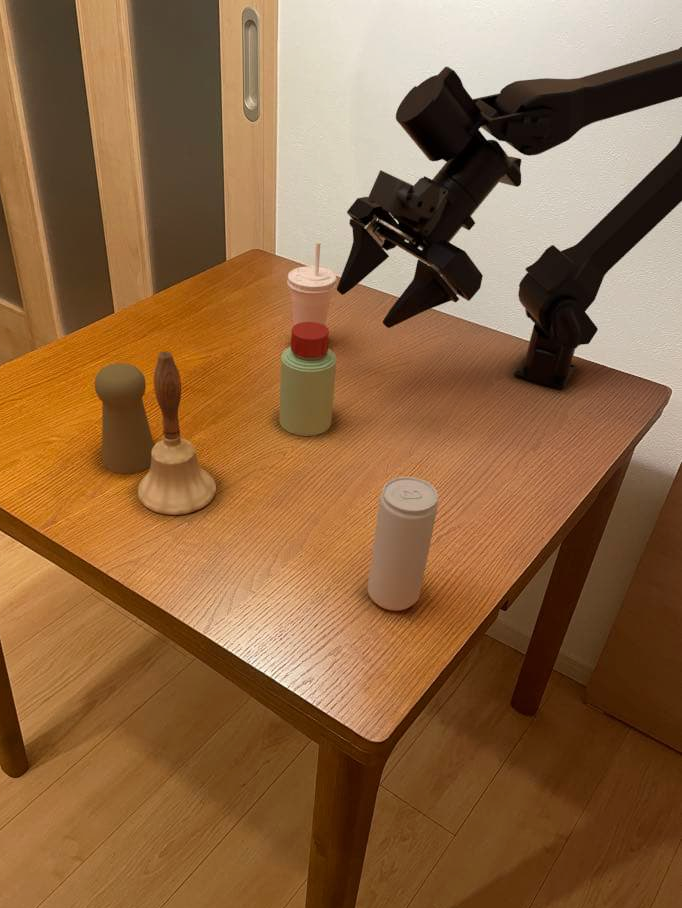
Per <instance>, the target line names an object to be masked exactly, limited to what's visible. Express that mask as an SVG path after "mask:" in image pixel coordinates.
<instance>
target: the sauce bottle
mask: <svg viewBox="0 0 682 908" xmlns="http://www.w3.org/2000/svg"><path fill="white" fill-rule="evenodd" d="M336 369H337V356H336V354H335V352H333V351H332V350H331V349H330V348H328V351H327V353H326V354H325V355H323V356H321V357H318V358H303V357H300V356H297V355H295V354H294V353H293V352H292V351H291V346H289V347H287V348H286V349H284V350H283V352H282V353H281V356H280V385H279V386H280V389H279V394H280V395H279V416H278V417H279V424H280V426H281V428H282V429H283V430H285V431H286V432H288V433H290V434H292V435H296V436H301V437H311V436H312V437H313V436H318V435H321V434H323V433H325V432H327V431H328V430H329V429H330V427H331V426H332V418H333V406H334V397H335V396H334V395H335V382H336Z"/></svg>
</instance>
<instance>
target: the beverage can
mask: <svg viewBox="0 0 682 908" xmlns="http://www.w3.org/2000/svg"><path fill="white" fill-rule="evenodd" d="M438 498H439V494H438V491H437V490H436V488H435V487H434V486H433V485H432V484H431V483H429V482H428V481H426V480H424V479H422V478H419V477H413V476H400V477H396V478H392V479H390V480H388V481H387V482H386V483H385V484H384V486H383V488H382V491H381V493H380V496H379V502H378V508H377V509H378V510H377V516H376V523H375V529H374V530H375V531H374V537H373V538H374V539H373V546H372V552H371V559H370V567H369V573H368V579H367V580H368V581H367V593H368V596H369V598H370V599H371V600H372V601H373V603H375V604H376V605H378V607H380V608H382V609H384V610H388V611H391V612H392V611H393V612H399V611H405V610H407V609H409V608H410V607H411V606H413V605H415V604H416V603H417V602H418V601H419V600H420V595H421V591H422V586H423V581H424V576H425V572H426V567H427V561H428V558H429V557H428V556H429V552H430V547H431V541H432V537H433V532H434V528H435V523H436V519H437V518H436V517H437V513H438V507H439V499H438Z"/></svg>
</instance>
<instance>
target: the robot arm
mask: <svg viewBox="0 0 682 908" xmlns="http://www.w3.org/2000/svg"><path fill="white" fill-rule="evenodd" d="M679 98H682V46H680V47H679V48H676V49H672V50H670V51H667V52H663V53H659V54H657V55H653V56H650V57H646V58H643V59H640V60H636V61H633V62H630V63H625V64H622V65H619V66H615V67H612V68H608V69H605V70H602V71H598V72H596V73H595V72H594V73H592V74H588V75H585V76H581V77H577V78H549V77H548V78H547V77H543V78H534V79H532V78H531V79H524V80H516V81H513V82H511V83H509V84H507V85H505V86H504V87H503V88H501V90H500V91H499V93H495V94H490V95H485V96H480V97H476V98H472V96H471V95H470V94H469V92H468V91H467V90H466V88H465V86H464V84H463V82H462V79H461V78H460V76H459V75H458V73H457V72H456V71H455V70H454V69H452V68H451V67H450V66H444V67H443V68H442V70H440V72H439V73H438V74H435V75H432V76H430V77H428V78H426V79H425V80H424V81H422V82H420V84H418V85H416V86H415V85H414V86H413V87H412V88H411V89H410V90H409V91H408V92H407V94H406V95H405V96H404V98H402V100H401V102H400V104H399V106H398V107H397V110H396V113H395V120H396V122H397V123H398V124H399V126H400V127H401V128H402V129H403V130H404V132H405V133H406V134H407V135H408V136H409V137H410V139H411V140H412V141H413V142H414V144H415V145H416V146H417V147H418V148H419V150H420V151H421V152H422V153H423V155H424V156H425V157H426V159H428V160H429V161H431V162H438V161H441V160H442V161H444V162H445V163H444V164H443V166H442V167H441V168H440V170H439V171H438V172H437V173H436V174H435V176H434V177H433V178H429V177H428V176H425V175H424V176H423V177H420V178H419V179H418V181H416V182H415V184H411V183H409V182H407V181H405V180H404V179H400V178H399V177H396V176H394V175H392V174H390V173H388V172H386V171H384V170H382V169H380V170H379V172H378V174H377V176H376V178H375V180H374V183H373V186H372V187H371V190H370V192H369V194H368V196H363V197H357V198H356V199H355V201H354V202H353V203H352V204H351V205H350V207H349V208H348V209H347V211H346V214H347V215H348V216H349V217H350V219H349V223H348V224H349V226H350V227H351V228H352V244H351V249H350V251H349V255H348V257H347V261H346V262H345V264H344V265H345V266H344V268H343V270H342V273H341V276H340V279H339V280H338V284H337V285H336V291H337V292H338V293H339V294H340V295H341V296H343V295H346V294H347V293H348V292H349V291H351V290H352V289H353V288H355V287H356V286H357V285H358V284H359V283H361V282H362V281H363V280H364V279H365V278H366V277H368V276H369V274H372V272H373V271H375V270H376V269H377V268H378V267H379V266H380V265H381V264H382V263H384V262H385V261H386V260H387V259H388V258H389V257H390V255H389V254H388V253H387V252H386V251H389V250H392V249H395V248H396V247H398V248H400V249H402V250H403V251H405V252H406V253H408V254H410V255H412V256H413V257H415V258H416V259H417V262H416V267H415V271H414V276H413V279H412V280H411V281H410V283H409V284H408V285H407V287H406V288H405V290H404V291H403V292H402V293H401V294H400V296H399V298H398V299H397V300H396V302H395V303H394V304H393V306H391V307H390V309H389V311H388V312H387V314H386V315H385V317H384V319H383V320H382V324H383V325H384V326H385V327H386V328H387V329H391V328H393V327H394V326H397V325H398V324H401V323H403V322H405V321H407V320H409V319H411V318H413V317H415V316H418V315H419V314H422V313H423V312H427V311H428V310H431V309H433V308H436V307H439V306H441V305H444V304H446V303H449V302H452V303H457V302H459V300H460V297H461V298H462V299H464V300H466V301H467V302H470V301H471V300H472V299H473V297H474V296H475V295H476V294H477V292H479V290H480V289H481V286H482V282H483V277H484V275H483V273H482V272H481V271H480V270H479V268H478V267H477V266H476V264H475V262H474V261H473V259H471V257H470V256H469V254H468V253H467V252H466V250H463V249H462V248H460V247H459V246H457V245H455V244H453V243H451V241H452V240H453V239H454V238H455V236H456V235H457V234H458V233H459V232H460V230H461V229H465V230H467V231H470V230H471V229H472V228H473V227H474V226H475V225H476V221H475V220H474V219H473V217H472V216H473V214H474V213H475V212H476V211H477V210H478V208H479V207H480V206H481V204H483V202H484V201H485V199H486V198H487V197H489V195H490V194H491V193H492V191H493V190H494V189H495V188H496V187H497V185H498V184H499V183H500V184H505V185H508V186H512V187H515V188H518V187H520V186H521V185H522V171H521V165H522V158H519V157H514V156H511V155H510V156H509V155H508V154H507V152H506V151H505V150H504V148H503V147H502V146H501V144H500V143H499V142H505V143H506V144H507V145H509V146H510V147H512V149H514V150H516V151H517V152H519V153H520V154H522V155H523V156H529V157H531V156H538V155H541V154H544V153H545V152H547V151H549V150H551V149H554V148H556V147H557V146H560V145H562V144H564V143H566V142H568V141H569V140H570V139H572V138H573V137H574V136H575V135H576V134H578V132H579V131H581V130H582V129H583V128H586V127H587V126H590V125H592V124H594V123H598V122H601V121H604V120H608V119H611V118H614V117H618V116H621V115H624V114H628V113H631V112H635V111H638V110H641V109H645V108H649V107H652V106H655V105H658V104H662V103H665V102H669V101H672V100H676V99H679ZM480 129H483V130H484V131H485V132H486V133H488V134H490V136H492V137H493V138H495V139H496V140H495V139H487V138H486V137H485V136H484V135H483V133H482V132H481V130H480ZM498 141H499V142H498ZM681 203H682V135H681V136H680V138H679V141H678V143H677V144H676V146H674V148H673V149H672V150H671V151H670V152H669V153H668V154H667V155H666V156H665V157H664V158H663V159H661V161H660V162H658V163H657V165H656V166H655V167H654V168H652V170H651V171H649V172H648V174H646V176H644V177H643V179H642V180H641V181H640V182H639V183H637V184H636V185H635V186H634V187H633V188H632V189H631V190H630V191H629V192H628V193H626V195H625V196H624V197H623V198H622V199H621V200H620V201H619V202H618V203H617V204H616V205H615V206H613V208H612V209H611V210H610V211H609V212H608V213H607V214H606V215H605V216H604V217H603V218H602V219H601V220H600V221H598V222H597V224H595V226H593V228H591V230H590V231H589V232H588V233H586V235H584V237H583V238H581V240H579V241H578V242H577V243H576V244H574V245H573V246H570V247H568V248H565V249H563V250H562V249H561V250H560V249H559V248H558V247H556V246H555V245H554V244H551V245H550V246H549V247H548V248H546V249H545V250H544V251H543V252H542V254H541V255H540V257H539V258H538V259H537V260H536V261H535V262H533V263H532V264H531V265H529V266H527V267H525V271H526V274H525V275H524V276H523V277H522V278H521V280H520V282H519V284H518V287H519V288H518V292H517V293H518V294H517V295H518V301H519V303H520V305H522V307H523V308H524V309H525V315H526V317H527V318H528V319H530V320H531V321H532V322H533V327H532V330H531V333H530V334H531V335H530V339H529V343H528V346H527V351H526V355H525V357H524V358H523V360H522V361H521V362H520V364H519V365H518V366H517V367H516V369H515V370H514V374H513V375H514V377H515V378H516V377H517V378H519V379H523V380H527V381H530V382H534V383H537V384H541V385H543V386H548V387H551V388H554V389H558V390H564V388H565V387H566V385H567V384H568V382H569V381H570V379H571V377H572V376H573V374H574V373H575V371H576V369H577V365H575V364H573V363H572V362H573V358H574V355H575V352H576V349H577V348H578V347H579V346H582V345H589V344H590V343H591V341H592V340H593V338H594V337H595V335H596V334H597V333H598V330H599V329H598V327H597V325H596V324H595V322H593V320H592V319H591V317H590V316H589V315H588V314H587V312H586V311H587V310H588V309H589V307H590V306H591V305H592V304H593V303H594V302H595V300H596V299H597V297H598V296H597V295H598V293H599V290H600V288H601V285H602V284H603V280H604V278H605V276H606V275H607V273H608V272H609V271H610V270H611V269H613V267H615V265H617V264H618V263H619V262H620V261H621V260H622V259H623V258H624V257H625V256H626V255H627V254H628V253H629V252H630V251H631V250H632V249H633V248H634V247H635V246H636V245H637V244H639V242H641V241H642V240H643V239H644V238H645V237H646V236H647V235H648V234H649V233H650V232H651V231H652V230H653V229H654V228H655V227H657V226H658V225H659V224H660V222H662V221H663V220H664V219H665V218H666V217H667V216H668V215H669V214H670V213H671V212H673V210H674V209H675V208H676V207H677V206H678V205H680V204H681Z"/></svg>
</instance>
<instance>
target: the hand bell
mask: <svg viewBox="0 0 682 908" xmlns="http://www.w3.org/2000/svg"><path fill="white" fill-rule="evenodd" d="M153 389H154V394H155V399H156V401H157V403H158V407H159V408H160V411H161V415H162V416H161V417H162V429H163V430H162V435H163V439H161V440H159V441H157V443H154V447H153V449H152V453H151V455H152V457H151V466H150V467H149V471H148V473H147V474H146V475H144V476H143V478H142V479H141V480H140V482H139V485H138V487H137V497H138V499H139V501H140V503H141V505H143V506H144V507H145V508H147V509H148V510H150V511H152V512H155V513H157V514H161V515H162V514H163V515H167V516H180V515H181V516H182V515H186V514H190V513H193V512H196V511H199V510H201V509H203V508H205V507H206V506H207V505H208V504H209V503H211V502H212V500H213V499H214V497H215V495H216V493H217V484H216V482H215V479H214V478H213V476H212V474H210V473H209V472H208V471H206V470H205V469H204V468H202V467H201V465H200V463H199V460H198V457H197V453H196V448H195V446H194V444H193V443H192V442H191V441H189V440H188V439H185V438H181V429H180V422H179V408H180V404H181V400H182V399H181V398H182V380H181V374H180V372H179V369H178V367H177V364H176V362H175V360H174V357H173V354H172V352H171V351H168V350H167V351H165V350H164V351H160V352H159V353H158V354H157V361H156V365H155V369H154V373H153Z"/></svg>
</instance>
